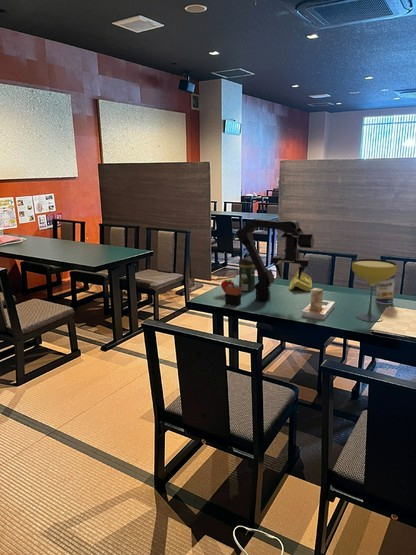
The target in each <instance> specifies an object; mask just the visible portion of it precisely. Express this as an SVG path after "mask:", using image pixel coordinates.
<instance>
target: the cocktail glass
mask: <svg viewBox="0 0 416 555" xmlns="http://www.w3.org/2000/svg"><path fill="white" fill-rule="evenodd" d="M351 270H352V272H353V273H354V274H355V275H357V276H358V277H360V278H362V279H363V280H365V281H367V283H368V285H369V286H370V299H369V308H368V312H367V313H358V314H357V315H355V316H356V319H358V320H360V321H364V322H368V323H370V322H371V323H377V321H378V320H379V319H380V317H381V315H377V314H374V313H372V299H373V289H374V286H377V283H378V282H379V281H382V280H384V279H387V278H390V277H392V276H393V275H395V276H396V274H397V270H398V265H397V263H395V262H393V261H390V260H383V259H376V258H362V259H354V260H353V261H352V263H351Z"/></svg>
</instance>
